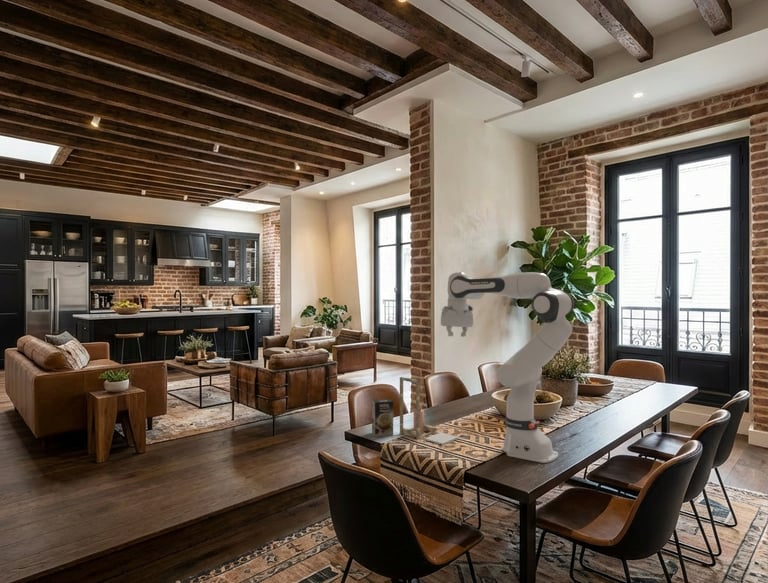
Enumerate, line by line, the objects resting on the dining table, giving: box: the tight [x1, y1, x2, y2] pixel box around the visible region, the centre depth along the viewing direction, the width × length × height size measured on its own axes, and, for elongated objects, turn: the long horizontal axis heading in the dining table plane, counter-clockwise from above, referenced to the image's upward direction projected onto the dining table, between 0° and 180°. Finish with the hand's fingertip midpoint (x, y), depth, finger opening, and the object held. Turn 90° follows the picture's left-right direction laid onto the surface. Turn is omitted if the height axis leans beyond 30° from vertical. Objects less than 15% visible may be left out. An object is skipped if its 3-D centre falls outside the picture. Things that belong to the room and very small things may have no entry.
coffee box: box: [371, 398, 394, 438], centre depth 220 cm, size 9×6×16 cm
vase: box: [413, 402, 425, 435], centre depth 222 cm, size 5×5×14 cm
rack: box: [399, 376, 437, 440], centre depth 221 cm, size 11×14×27 cm
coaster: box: [424, 432, 459, 446], centre depth 212 cm, size 10×12×1 cm
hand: (457, 336), depth 218 cm, fingers open, 8 cm apart
